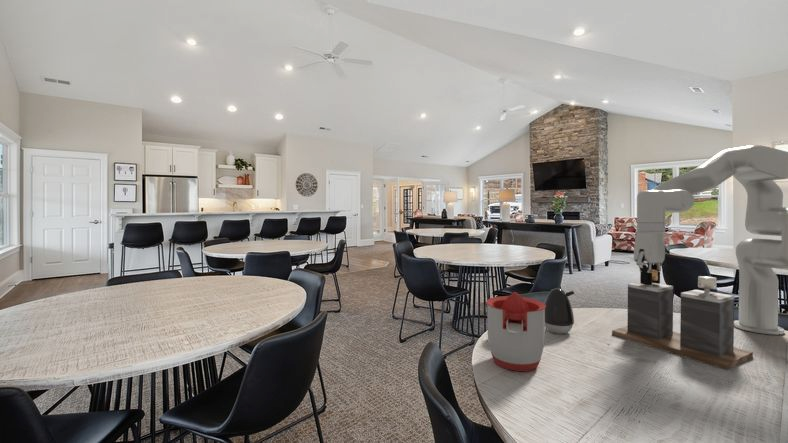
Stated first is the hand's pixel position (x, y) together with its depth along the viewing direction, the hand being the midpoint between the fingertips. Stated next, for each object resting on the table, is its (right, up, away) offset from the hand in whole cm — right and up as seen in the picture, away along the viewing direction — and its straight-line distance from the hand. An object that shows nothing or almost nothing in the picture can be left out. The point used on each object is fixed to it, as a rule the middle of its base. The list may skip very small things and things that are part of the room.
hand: (650, 283), depth 116 cm
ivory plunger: (+7, -16, -13) cm, 22 cm away
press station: (+4, -18, -6) cm, 20 cm away
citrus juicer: (-51, -19, -18) cm, 57 cm away
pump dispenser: (-27, -18, +7) cm, 33 cm away
